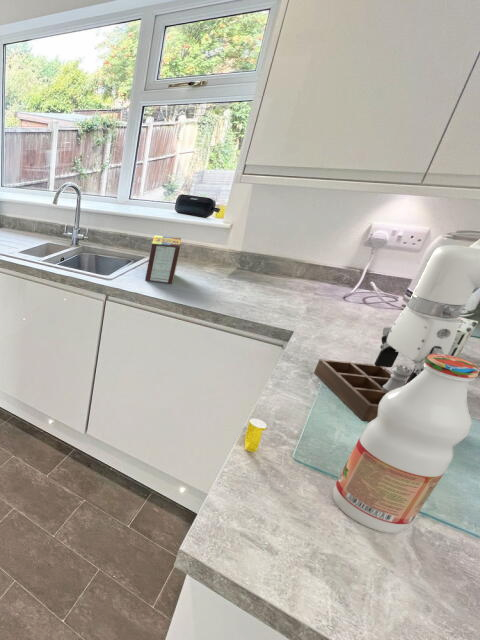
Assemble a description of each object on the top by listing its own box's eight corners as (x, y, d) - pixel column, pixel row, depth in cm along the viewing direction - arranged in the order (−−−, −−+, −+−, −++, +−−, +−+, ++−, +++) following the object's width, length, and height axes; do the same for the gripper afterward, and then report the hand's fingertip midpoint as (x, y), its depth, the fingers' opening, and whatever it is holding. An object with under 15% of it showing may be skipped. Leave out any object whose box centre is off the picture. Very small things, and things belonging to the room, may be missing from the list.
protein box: (173, 273, 177) (181, 237, 171) (172, 284, 165) (181, 246, 158) (147, 269, 181) (154, 234, 175) (144, 280, 169) (151, 243, 162)
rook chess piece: (385, 391, 97) (400, 362, 93) (407, 402, 93) (423, 372, 89) (369, 393, 96) (384, 363, 92) (390, 404, 92) (407, 374, 88)
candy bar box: (418, 372, 106) (449, 313, 99) (445, 381, 102) (480, 321, 95) (403, 384, 101) (435, 324, 94) (431, 395, 97) (468, 332, 90)
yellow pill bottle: (240, 435, 84) (248, 411, 81) (256, 440, 82) (265, 416, 80) (241, 454, 79) (250, 429, 76) (258, 459, 78) (268, 434, 75)
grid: (374, 379, 103) (382, 365, 101) (437, 430, 85) (447, 414, 84) (313, 372, 105) (319, 358, 104) (361, 421, 88) (369, 405, 86)
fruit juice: (354, 530, 64) (443, 377, 52) (318, 483, 72) (388, 342, 60) (424, 540, 62) (532, 384, 51) (379, 491, 71) (463, 348, 59)
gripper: (495, 326, 76) (448, 402, 84) (424, 293, 92) (390, 360, 99) (446, 322, 78) (405, 397, 85) (384, 290, 93) (354, 356, 100)
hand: (397, 377), depth 92 cm, fingers open, 9 cm apart
